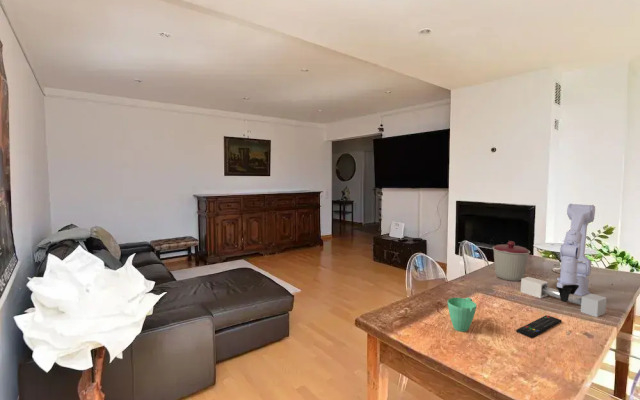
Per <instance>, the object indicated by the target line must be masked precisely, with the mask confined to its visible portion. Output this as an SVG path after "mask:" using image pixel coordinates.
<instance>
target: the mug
mask: <svg viewBox="0 0 640 400" xmlns="http://www.w3.org/2000/svg"><path fill="white" fill-rule="evenodd" d="M447 308H448V309H447V310H448V313H449V317H450V321H451V323H452V324H451V325H452V326H453V329H454V330H455V331H458V332H461V333H466V332H468V331H469V329H470V327H471V324H472V322H473V320H474V317H475V314H476V309H477V303H476V302H474V301H473V298H471V297H465V298H464V297H463V298H462V297H451V298H448V299H447Z"/></svg>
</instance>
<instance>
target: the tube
mask: <svg viewBox="0 0 640 400" xmlns="http://www.w3.org/2000/svg"><path fill="white" fill-rule="evenodd" d="M542 293H543V294H546V295H547V296H550V297H553V298H557V299H560V300H561V298H560V294H559V291H558V289H557V288H554V287H553V288H552V287H549V286H548V287H546V286H542ZM581 301H582V296H579V295H576V294H571V293H570V294H569V298H568V301H567V302H569V303H573V304H576V305H580V306H581Z"/></svg>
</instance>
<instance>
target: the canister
mask: <svg viewBox="0 0 640 400" xmlns="http://www.w3.org/2000/svg"><path fill="white" fill-rule="evenodd" d="M492 250H493V259H494V261H493V262H494V263H493V264H494V271H495V275H496V276H497V277H498V278H500V279H502V280H505V281H510V282H519V281H520V282H521V279H522V278H525V273H526V269H527V265H528V259H529V254H531V251H530V250H529V249H527V248H526V247H525V246H524V247H523V246H520V245H516V243H515V241H512V240H508V242H507V244H496V245H493V246H492Z"/></svg>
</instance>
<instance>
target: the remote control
mask: <svg viewBox="0 0 640 400" xmlns="http://www.w3.org/2000/svg"><path fill="white" fill-rule="evenodd" d="M561 323H562V319H559V318H556V317H554V316H551V315H547V314H546V315H544V316H541V317H539V318H538V319H536V320H533V321H531V322H529V323H527V324H526V325H523V326H521V327H519V328H518V329H516V330H515V331H516V332H515V333H517V334H520V335H523V336H525V337H527V338H530V339H533V338H535V337H537V336H539V335H540V334H543V333H545V332H547V331H548V330H550V329H552V328H553V327H555V326H557V325H558V324H561Z"/></svg>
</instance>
